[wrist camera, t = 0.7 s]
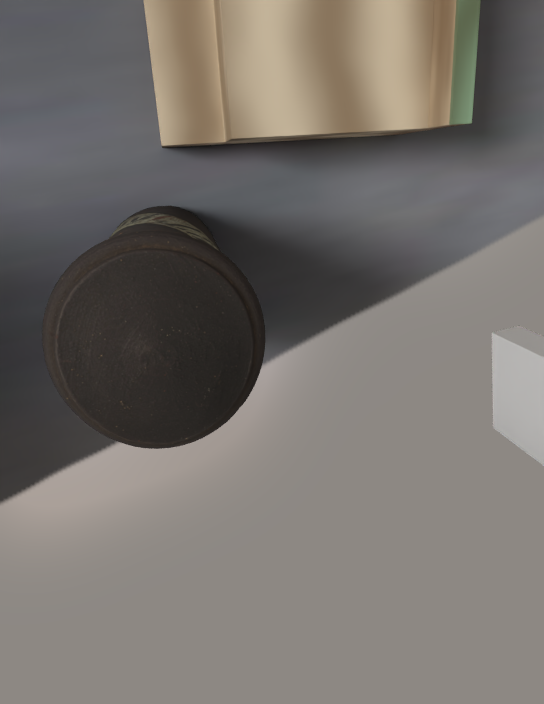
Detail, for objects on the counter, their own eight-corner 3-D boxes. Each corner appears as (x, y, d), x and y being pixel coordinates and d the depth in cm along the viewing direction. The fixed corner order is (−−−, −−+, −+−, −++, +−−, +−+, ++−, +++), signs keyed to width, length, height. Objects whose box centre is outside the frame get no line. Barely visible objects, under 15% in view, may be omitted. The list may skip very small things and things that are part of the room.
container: (238, 226, 38) (305, 281, 19) (199, 337, 40) (226, 482, 21) (121, 183, 35) (68, 197, 17) (87, 303, 37) (7, 434, 19)
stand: (162, 147, 35) (159, 139, 26) (135, -67, 31) (122, -166, 22) (398, 134, 38) (471, 123, 28) (403, -64, 33) (491, -151, 24)
